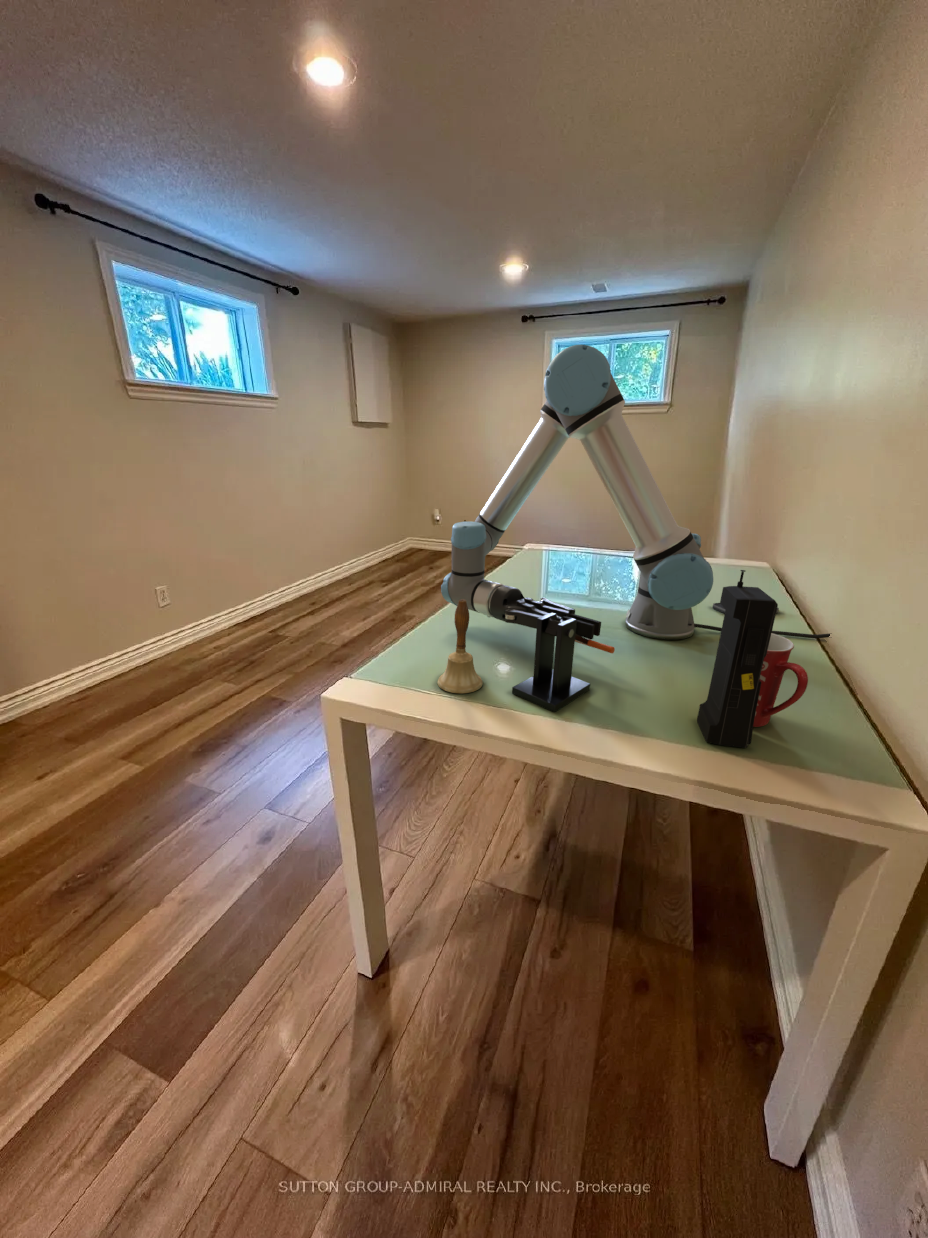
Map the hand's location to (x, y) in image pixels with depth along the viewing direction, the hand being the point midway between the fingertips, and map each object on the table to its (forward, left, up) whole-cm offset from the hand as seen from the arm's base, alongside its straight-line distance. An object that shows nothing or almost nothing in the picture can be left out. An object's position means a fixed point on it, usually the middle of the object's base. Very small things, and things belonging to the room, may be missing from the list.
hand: (596, 630), depth 91 cm
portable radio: (-14, +22, -9) cm, 27 cm away
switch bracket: (+9, +7, -9) cm, 15 cm away
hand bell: (+25, +3, -9) cm, 27 cm away
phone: (-53, -35, -9) cm, 64 cm away
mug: (-21, +18, -9) cm, 29 cm away
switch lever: (+6, +4, -1) cm, 7 cm away
